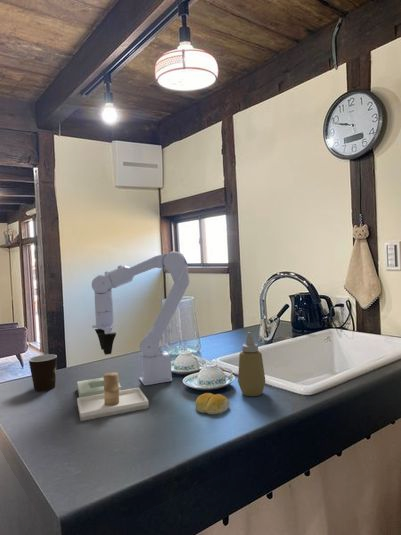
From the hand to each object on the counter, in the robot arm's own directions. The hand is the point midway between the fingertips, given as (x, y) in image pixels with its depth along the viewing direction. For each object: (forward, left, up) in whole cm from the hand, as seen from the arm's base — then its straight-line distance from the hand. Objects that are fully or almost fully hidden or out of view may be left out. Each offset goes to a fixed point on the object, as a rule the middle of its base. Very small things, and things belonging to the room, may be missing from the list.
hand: (106, 351), depth 130 cm
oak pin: (+2, +22, -9) cm, 24 cm away
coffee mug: (+19, -6, -11) cm, 22 cm away
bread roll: (-23, +36, -11) cm, 44 cm away
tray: (+2, +22, -10) cm, 24 cm away
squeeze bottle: (-37, +32, -11) cm, 50 cm away
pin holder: (+4, +8, -10) cm, 14 cm away
